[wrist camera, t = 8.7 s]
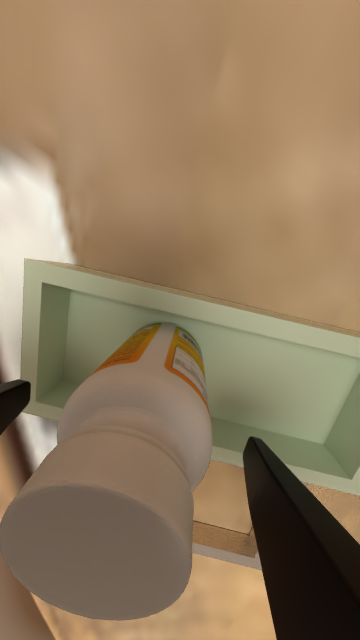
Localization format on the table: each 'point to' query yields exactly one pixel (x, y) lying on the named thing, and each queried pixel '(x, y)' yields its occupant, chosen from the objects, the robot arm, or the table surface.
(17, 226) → the table surface
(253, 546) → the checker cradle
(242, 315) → the trough
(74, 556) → the supplement bottle
